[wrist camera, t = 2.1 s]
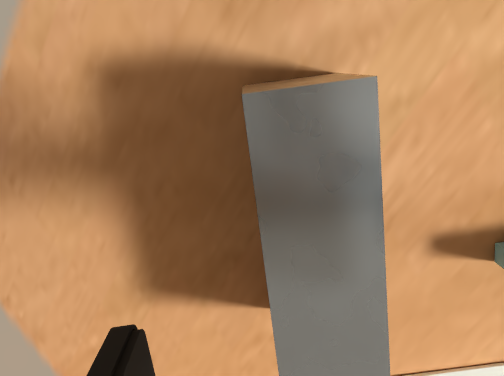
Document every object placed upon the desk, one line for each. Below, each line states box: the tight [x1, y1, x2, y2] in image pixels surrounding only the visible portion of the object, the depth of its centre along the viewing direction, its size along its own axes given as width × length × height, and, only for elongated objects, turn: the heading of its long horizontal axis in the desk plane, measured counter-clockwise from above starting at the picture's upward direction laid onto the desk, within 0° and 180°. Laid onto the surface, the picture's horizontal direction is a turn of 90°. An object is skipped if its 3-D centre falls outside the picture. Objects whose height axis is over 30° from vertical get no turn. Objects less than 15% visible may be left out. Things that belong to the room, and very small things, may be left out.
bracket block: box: [242, 73, 390, 376], centre depth 17 cm, size 11×4×6 cm, turn 7°
